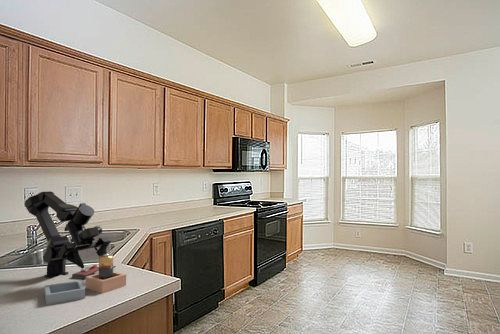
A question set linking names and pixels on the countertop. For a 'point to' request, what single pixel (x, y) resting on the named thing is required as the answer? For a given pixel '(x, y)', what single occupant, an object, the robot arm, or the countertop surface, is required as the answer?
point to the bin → (105, 282)
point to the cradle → (64, 292)
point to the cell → (105, 266)
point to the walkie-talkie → (87, 272)
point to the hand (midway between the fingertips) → (95, 265)
